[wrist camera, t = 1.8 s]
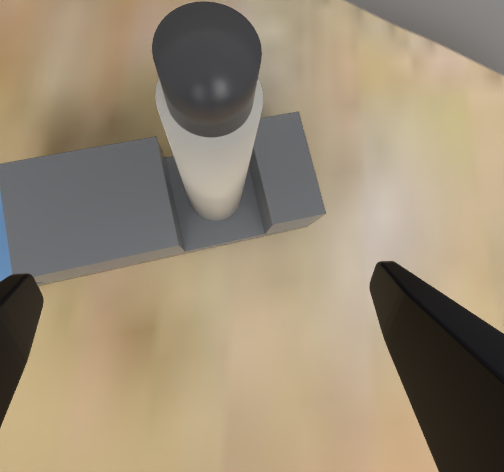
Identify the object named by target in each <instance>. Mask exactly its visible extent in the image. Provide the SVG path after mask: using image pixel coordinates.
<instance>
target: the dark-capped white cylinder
mask: <svg viewBox="0 0 504 472" xmlns="http://www.w3.org/2000/svg"><path fill="white" fill-rule="evenodd" d="M152 53H153V59H154V62H155V66H156V69H157V73H158V76H159V79H158V82H157V85H156V91H155V100H156V106H157V110H158V113H159V116H160V119H161V121H162V124H163V127H164V130H165V133H166V136H167V139H168V141H169V144H170V147H171V150H172V153H173V156H174V159H175V161H176V164H177V167H178V170H179V173H180V176H181V179H182V181H183V184H184V187H185V190H186V193H187V196H188V199H189V201H190V204H191V206H192V208H193V210H194V211H195V212H196V213H197V214H198V215H199V216H200V217H202V218H204V219H206V220H210V221H220V220H224V219H226V218H228V217H230V216H231V215H233V214H234V213H235V211H236V210H237V209H238V207H239V204H240V201H241V196H242V192H243V188H244V184H245V180H246V175H247V171H248V167H249V163H250V158H251V154H252V150H253V146H254V142H255V137H256V133H257V129H258V125H259V121H260V116H261V112H262V108H263V91H262V87H261V84H260V81H259V79H258V74H259V69H260V63H261V55H262V52H261V44H260V40H259V37H258V35H257V33H256V31H255V29H254V27H253V26H252V24H251V23H250V22H249V21H248V20H247V19H246V18H245V17H244V16H243V15H242V14H240V13H239V12H237V11H236V10H234V9H232V8H230V7H228V6H226V5H223V4H219V3H215V2H194V3H189V4H186V5H183V6H181V7H178V8H176V9H175V10H173V11H172V12H170V13H169V14H168V15H167V16H166V17H165V18H164V19H163V20H162V21H161V23H160V24H159V26H158V27H157V29H156V32H155V34H154V38H153V44H152Z"/></svg>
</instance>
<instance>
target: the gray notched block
mask: <svg viewBox="0 0 504 472" xmlns="http://www.w3.org/2000/svg"><path fill="white" fill-rule="evenodd" d="M324 214H326V212H325V208H324V204H323V200H322V197H321V193H320V189H319V186H318V182H317V178H316V174H315V171H314V167H313V163H312V159H311V156H310V152H309V148H308V144H307V141H306V137H305V133H304V130H303V126H302V122H301V118H300V115H299V112H293V113H288V114H282V115H276V116H271V117H265V118H260V121H259V125H258V129H257V133H256V137H255V142H254V146H253V150H252V154H251V158H250V163H249V167H248V171H247V175H246V180H245V184H244V188H243V192H242V196H241V201H240V204H239V207H238V209H237V210H236V211H235V213H234V214H233V215H231V216H230V217H228V218H226V219H224V220H220V221H210V220H206V219H204V218H202V217H200V216H199V215H198V214H197V213H196V212H195V211H194V210H193V208H192V206H191V204H190V201H189V199H188V196H187V193H186V190H185V187H184V184H183V181H182V179H181V176H180V173H179V170H178V167H177V164H176V161H175V159H174V156H173V157H167V158H165V156H164V154H163V152H162V149H161V147H160V144H159V142H158V140H157V137H151V138H145V139H139V140H133V141H128V142H122V143H116V144H111V145H105V146H99V147H94V148H88V149H82V150H76V151H71V152H65V153H59V154H54V155H48V156H42V157H36V158H31V159H25V160H19V161H14V162H8V163H2V164H0V281H2V280H3V279H5V278H7V277H8V276H10V275H12V274H23V273H28V274H31V275H32V276H33V277H34V279H35V281H36V283H37V285H38V286H40V285H45V284H49V283H54V282H58V281H63V280H67V279H72V278H77V277H81V276H86V275H90V274H95V273H99V272H104V271H108V270H113V269H117V268H122V267H126V266H131V265H135V264H140V263H144V262H149V261H153V260H158V259H163V258H167V257H172V256H176V255H181V254H185V253H190V252H194V251H199V250H203V249H208V248H212V247H217V246H221V245H226V244H230V243H235V242H240V241H244V240H249V239H253V238H258V237H262V236H267V235H271V234H276V233H280V232H285V231H289V230H294V229H298V228H303V227H307V226H309V225H310V224H311V223H313V222H314V221H316V220H317V219H319V218H320V217H321V216H323V215H324Z"/></svg>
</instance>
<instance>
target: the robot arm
mask: <svg viewBox="0 0 504 472" xmlns="http://www.w3.org/2000/svg"><path fill="white" fill-rule="evenodd" d="M370 292H371V296H372V299H373V303H374V306H375V310H376V313H377V317H378V320H379V324H380V327H381V330H382V334H383V337H384V340H385V342H386V345H387V348H388V350H389V352H390V355H391V357H392V360H393V362H394V365H395V367H396V369H397V372H398V374H399V377H400V379H401V381H402V384H403V386H404V389H405V391H406V393H407V396H408V398H409V401H410V403H411V405H412V408H413V410H414V413H415V415H416V418H417V420H418V422H419V425H420V427H421V430H422V432H423V434H424V437H425V439H426V442H427V444H428V446H429V449H430V451H431V454H432V456H433V458H434V461H435V463H436V466H437V468H438V471H439V472H504V334H503V333H502V332H500V331H499V330H497V329H496V328H494V327H493V326H491V325H490V324H488V323H487V322H485V321H484V320H482V319H480V318H479V317H477V316H476V315H474V314H473V313H471V312H470V311H468V310H467V309H465V308H464V307H462V306H461V305H459V304H458V303H456V302H455V301H453V300H452V299H450V298H449V297H447V296H446V295H444V294H443V293H441V292H440V291H438V290H437V289H435V288H433V287H432V286H430V285H429V284H427V283H426V282H424V281H423V280H421V279H420V278H418V277H417V276H415V275H414V274H412V273H411V272H409V271H408V270H406V269H405V268H403V267H402V266H400V265H399V264H397V263H396V262H394V261H380V262H378V263H377V264H376V266H375V269H374V272H373V275H372V278H371V281H370ZM42 307H43V296H42V293H41V291H40V289H39V287H38V285H37V283H36V281H35V279H34V277H33V276H32V275H31V274H28V273H23V274H12V275H10V276H8V277H7V278H5V279H3V280H2V281H0V427H1V425H2V422H3V420H4V417H5V415H6V412H7V410H8V407H9V405H10V403H11V400H12V398H13V395H14V393H15V390H16V388H17V385H18V383H19V380H20V378H21V375H22V373H23V371H24V368H25V365H26V363H27V360H28V357H29V354H30V350H31V347H32V343H33V339H34V336H35V332H36V329H37V325H38V322H39V318H40V314H41V311H42Z"/></svg>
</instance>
